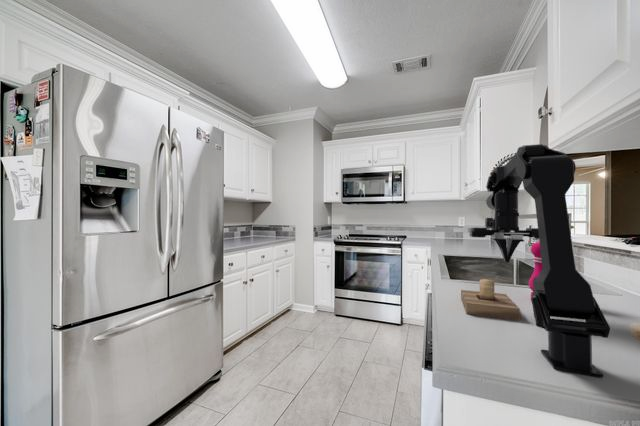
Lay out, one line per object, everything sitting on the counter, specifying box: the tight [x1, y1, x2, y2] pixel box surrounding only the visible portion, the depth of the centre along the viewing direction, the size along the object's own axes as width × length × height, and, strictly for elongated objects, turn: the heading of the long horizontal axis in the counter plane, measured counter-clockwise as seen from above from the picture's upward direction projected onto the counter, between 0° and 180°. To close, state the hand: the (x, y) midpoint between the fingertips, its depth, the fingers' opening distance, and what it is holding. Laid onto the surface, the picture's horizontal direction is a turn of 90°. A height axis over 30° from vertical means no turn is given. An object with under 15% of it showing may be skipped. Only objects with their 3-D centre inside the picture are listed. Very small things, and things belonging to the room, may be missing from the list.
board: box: [460, 289, 521, 321], centre depth 77 cm, size 14×12×3 cm
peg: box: [479, 278, 495, 301], centre depth 77 cm, size 4×4×8 cm
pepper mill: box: [528, 241, 542, 297], centre depth 84 cm, size 7×7×20 cm
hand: (506, 261), depth 79 cm, fingers closed
